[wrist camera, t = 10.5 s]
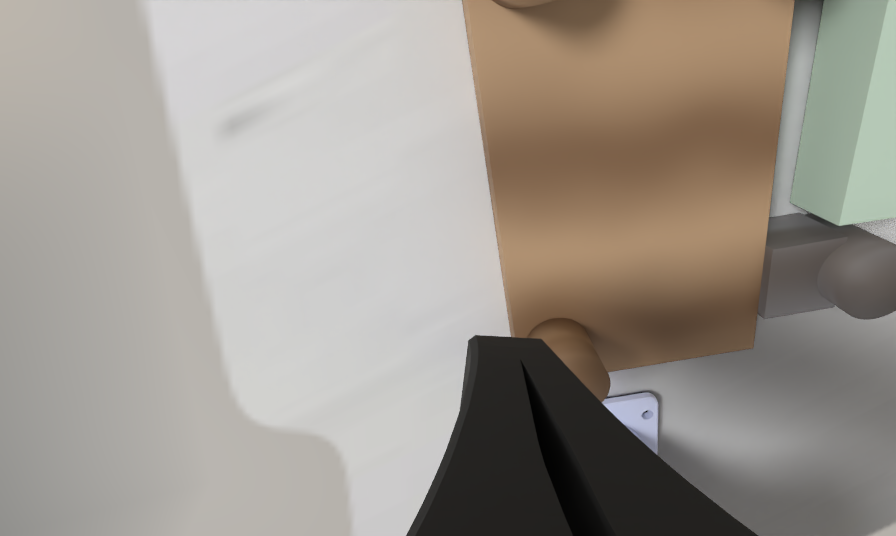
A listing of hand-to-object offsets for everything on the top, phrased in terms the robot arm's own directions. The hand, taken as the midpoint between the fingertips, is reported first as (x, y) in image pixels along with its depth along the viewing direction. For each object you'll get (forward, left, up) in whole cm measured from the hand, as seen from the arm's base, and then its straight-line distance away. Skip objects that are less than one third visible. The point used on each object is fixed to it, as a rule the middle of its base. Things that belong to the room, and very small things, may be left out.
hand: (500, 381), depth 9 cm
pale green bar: (+2, -13, -10) cm, 17 cm away
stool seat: (+1, -8, -10) cm, 13 cm away
